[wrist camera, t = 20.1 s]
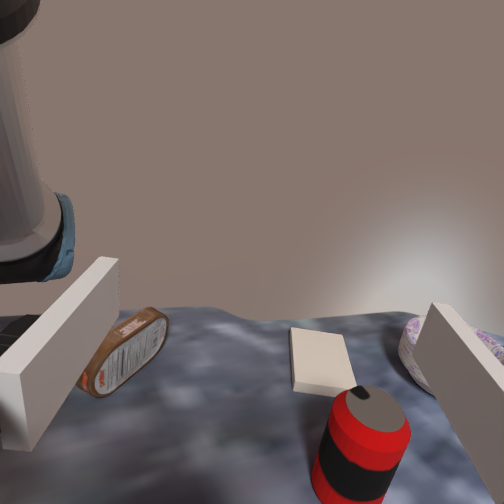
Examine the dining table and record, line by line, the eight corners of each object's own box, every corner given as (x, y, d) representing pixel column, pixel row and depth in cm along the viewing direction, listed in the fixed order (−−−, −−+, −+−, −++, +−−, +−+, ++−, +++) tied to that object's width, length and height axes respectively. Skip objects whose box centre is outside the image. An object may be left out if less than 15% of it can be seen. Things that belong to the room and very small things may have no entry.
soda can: (345, 446, 45) (371, 371, 40) (394, 503, 39) (432, 423, 35) (297, 471, 41) (320, 391, 36) (343, 538, 35) (378, 454, 31)
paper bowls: (379, 345, 65) (392, 308, 62) (459, 354, 66) (476, 318, 63) (414, 415, 51) (433, 371, 48) (516, 424, 52) (541, 383, 49)
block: (358, 390, 52) (342, 335, 64) (295, 381, 52) (291, 327, 64) (353, 402, 53) (339, 345, 64) (292, 393, 53) (288, 337, 64)
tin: (154, 341, 58) (156, 295, 55) (171, 348, 57) (173, 302, 53) (74, 403, 45) (70, 349, 42) (93, 415, 44) (91, 360, 41)
